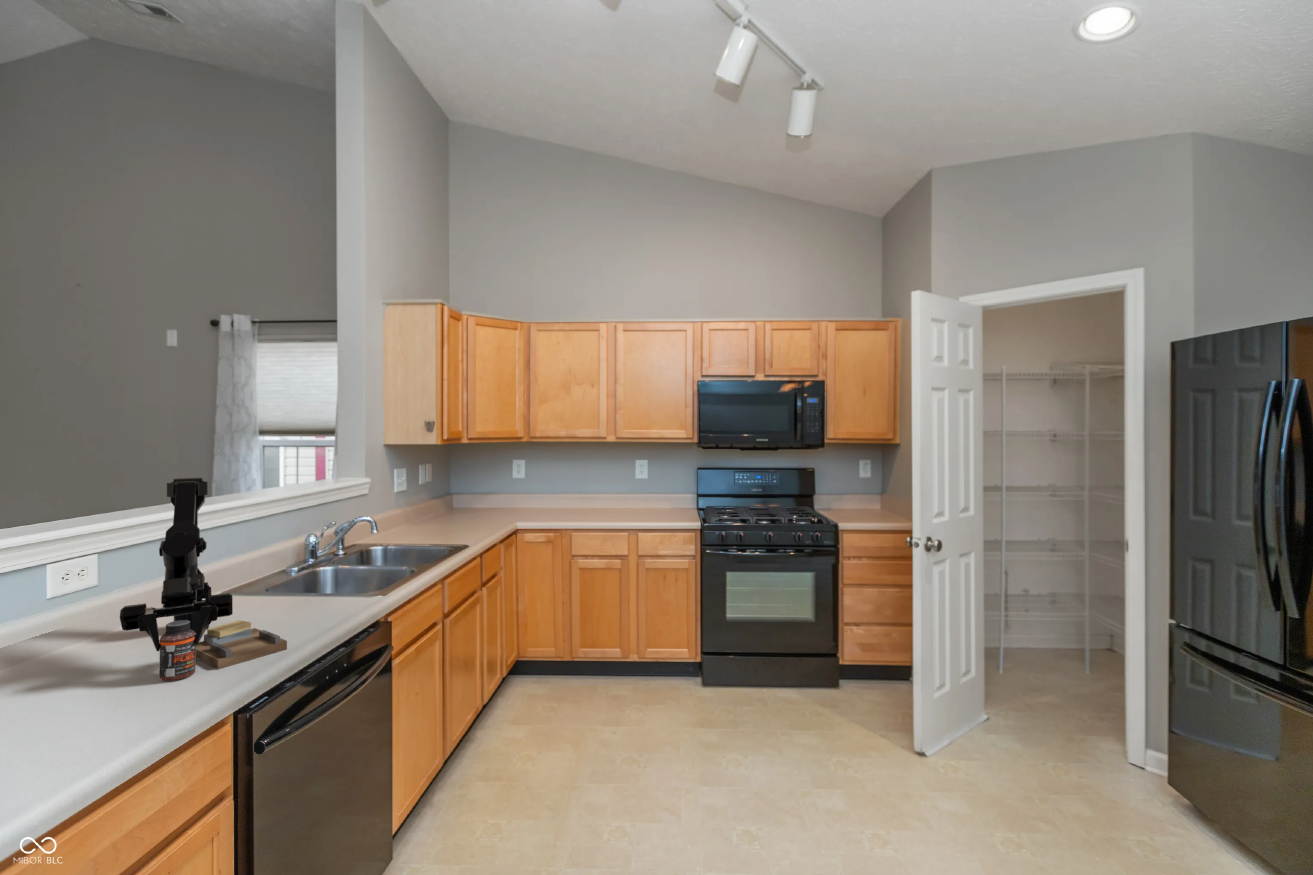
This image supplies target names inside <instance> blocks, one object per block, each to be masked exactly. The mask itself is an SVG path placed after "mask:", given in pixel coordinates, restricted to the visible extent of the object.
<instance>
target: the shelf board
mask: <svg viewBox="0 0 1313 875" xmlns="http://www.w3.org/2000/svg"><path fill="white" fill-rule="evenodd" d="M251 627H252V623H251V622H250V621H245V620H235V621H231V622H228V623H225V624H221V625H218V626H214V627H209V628H207V629H206V630H207V632H206V633H204V634H203V641H199V643H198V645H196V660H199V661H201V662H203V663H205V664H207V665H209V666H211V667H212V668H215V669H217V670H220V669H224V668H227V667H231V666H235V665H238V664H241V663H245V662H247V661H251V660H255V659H258V658H262V657H265V656H267V655H268V656H269V655H272V654H275V653H278V652H282V651H285V650H288V641H287V640H286V639H284V638H281V636H280V635H279V634H275V633H273V632H270V631H268V630H265V629H261V630H260V629H258V628H256V627H254V628H251Z"/></svg>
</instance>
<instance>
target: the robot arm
mask: <svg viewBox="0 0 1313 875" xmlns="http://www.w3.org/2000/svg"><path fill="white" fill-rule="evenodd" d="M208 495H209V481H204V480H203V477H183V478H182V477H181V478H180V477H179V478H173V481H171V482H166V497H167V498H170V502H171V504H172V506H173V520H172V525H171V526H170V527H169V528H167V530H165V538H164V540H161V542H160V545H159V548H158V551H159V552H158V553H159V557H162V559H163V560H162V561H163V565H164V567H165V568H164V569H165V571H164V580H163V582H162V591H161V599H160V603H161V605H162V607H157V608H156V607H148V606H147V603H139V604H131V605H124V606H123V607H121V609H120V612H119V620H120V621H119V622H120V625H121V628H122V631H127V632H128V631H132V630H133V631H134V630H139V632H146V634H148V636H149V637H150V639H151V641H152V643H153V646H154V648H155V651H156V652H160V636H159V635H160V634H159V626H158V620H157V619H158V618H165V617H166V618H169V617H173V622H174V621H179V620H188V621H190V629H191V630H193V631H194V632H195V633H196V636H195V645H198V643H199V642H201V639H202V637H204V635H205V632H206V630H207V629H210V625H211V623H212V622H215V621H218V618H223V617H229V616H231V615H233V612H234V611H233V608H234V607H233V605H234V604H233V594H232V593H230V592H225V593H218V594H212V587H211V586H210V584H209V582H207V581H206V578H205V574H204V573H203V572H202V571H201V570H200V568H198V566H199V564H198V558H199V557H200V556H201V555H200V554H201V553H202V554H203V553H204V551H205V550H207V545H208V544H207V543H208V542H207V541H205V539H204V537H201V531H200V528H199V522H198V521H199V515H198V514H199V513H198V512H199V511H200V509H201V508H202V506H203V505H204V504H205V502H206V496H208Z"/></svg>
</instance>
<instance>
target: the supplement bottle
mask: <svg viewBox="0 0 1313 875" xmlns="http://www.w3.org/2000/svg"><path fill="white" fill-rule="evenodd" d="M195 636H196V632H194V631H193V630H191V629H190V621H188V620H179V621H174V620H173V621H170V622H168V623H166V624H165V632H164V633H163V634H162V635H161V636H160V637H159V642H160V649H159V666H158V667H159V668H158V669H159V672H158V673H159V679H160V680H161V681H165V682H173V681H179V680H183V679H186V678H189V677H191V676H192V675H194V674H195V673H196V668H197V667H196V662H197V661H196V660H197V658H196V645H195Z"/></svg>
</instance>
